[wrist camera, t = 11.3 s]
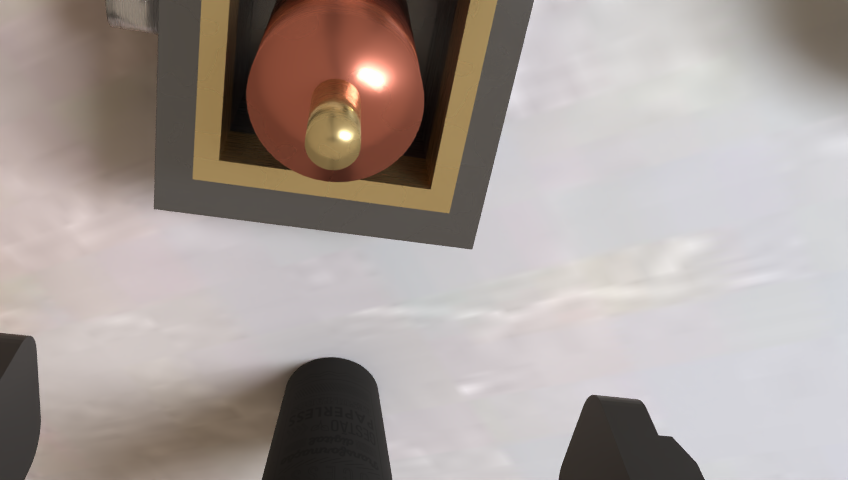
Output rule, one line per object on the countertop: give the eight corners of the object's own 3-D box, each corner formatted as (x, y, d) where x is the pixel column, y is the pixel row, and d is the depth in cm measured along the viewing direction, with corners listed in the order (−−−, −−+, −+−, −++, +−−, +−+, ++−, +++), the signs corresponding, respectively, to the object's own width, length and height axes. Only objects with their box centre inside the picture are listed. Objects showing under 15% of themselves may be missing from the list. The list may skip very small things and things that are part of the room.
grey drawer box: (141, -237, 28) (63, -240, 21) (532, -157, 30) (588, -133, 23) (136, 137, 35) (76, 236, 27) (456, 181, 37) (480, 284, 29)
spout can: (284, -67, 30) (238, 31, 19) (417, -44, 31) (449, 64, 20) (272, 63, 32) (225, 218, 21) (396, 82, 33) (413, 242, 22)
